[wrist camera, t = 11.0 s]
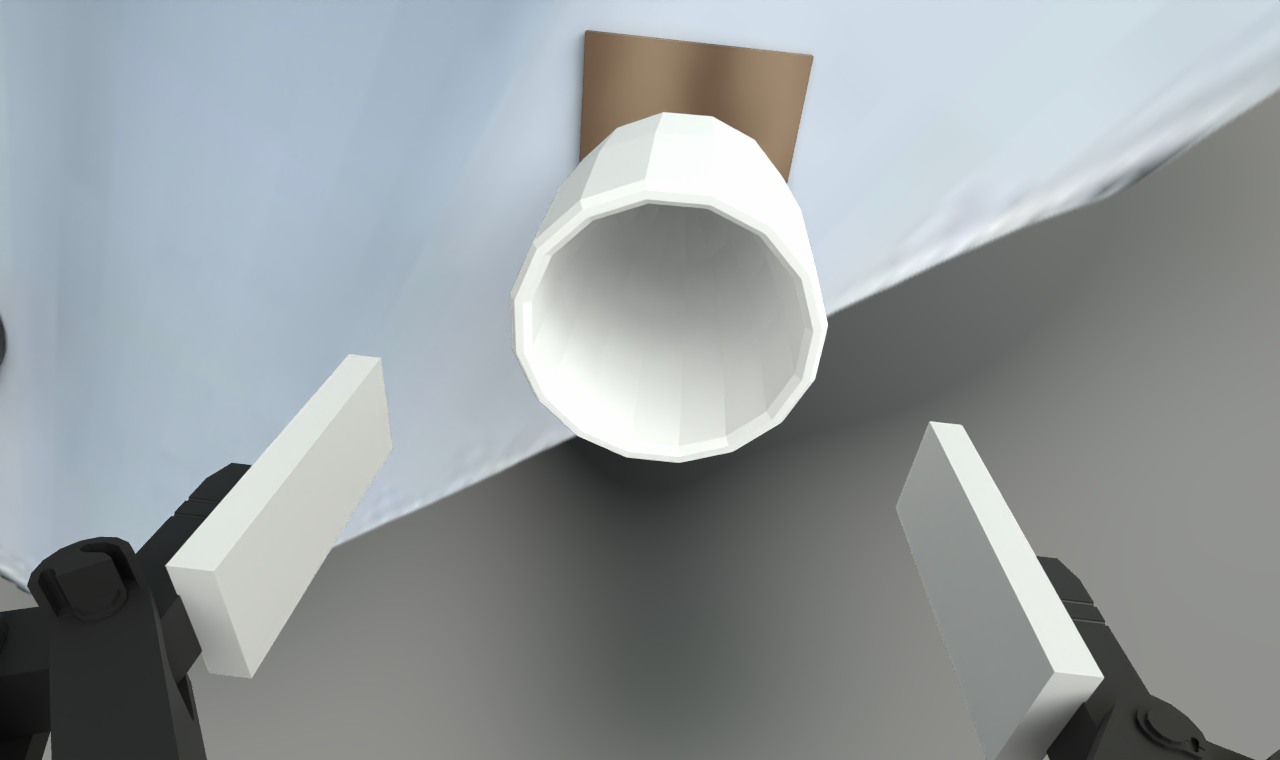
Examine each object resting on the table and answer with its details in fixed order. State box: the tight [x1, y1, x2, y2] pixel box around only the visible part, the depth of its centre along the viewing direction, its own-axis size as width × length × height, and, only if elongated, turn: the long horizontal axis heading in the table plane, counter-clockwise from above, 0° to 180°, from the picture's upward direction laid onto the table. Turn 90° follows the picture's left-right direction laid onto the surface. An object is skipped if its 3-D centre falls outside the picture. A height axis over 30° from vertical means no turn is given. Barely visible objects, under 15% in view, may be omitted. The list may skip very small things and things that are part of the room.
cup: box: [510, 112, 828, 463], centre depth 30 cm, size 10×10×22 cm
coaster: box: [580, 30, 813, 184], centre depth 39 cm, size 12×12×1 cm
